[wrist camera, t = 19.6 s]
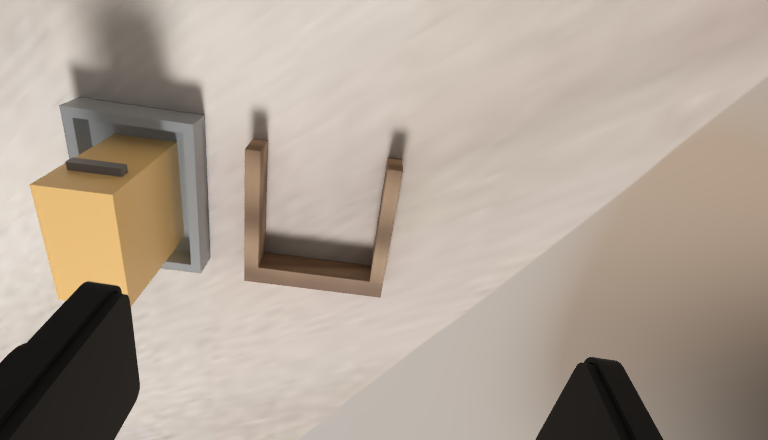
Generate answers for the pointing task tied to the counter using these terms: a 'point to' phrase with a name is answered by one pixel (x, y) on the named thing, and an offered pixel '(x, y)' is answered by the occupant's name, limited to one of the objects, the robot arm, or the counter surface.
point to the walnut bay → (307, 269)
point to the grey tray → (103, 119)
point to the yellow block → (111, 214)
